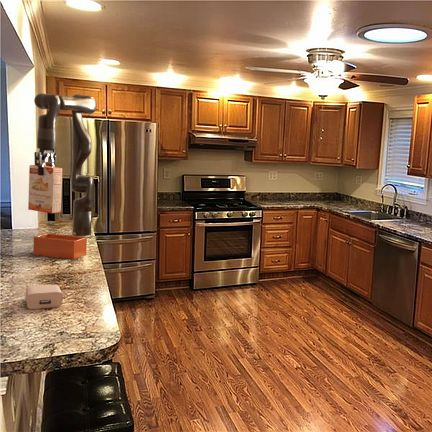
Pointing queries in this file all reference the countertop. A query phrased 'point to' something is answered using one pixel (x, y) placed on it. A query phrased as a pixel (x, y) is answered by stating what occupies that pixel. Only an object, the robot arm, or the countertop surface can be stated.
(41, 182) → the cracker box
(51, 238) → the holder
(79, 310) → the countertop surface
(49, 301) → the charger
